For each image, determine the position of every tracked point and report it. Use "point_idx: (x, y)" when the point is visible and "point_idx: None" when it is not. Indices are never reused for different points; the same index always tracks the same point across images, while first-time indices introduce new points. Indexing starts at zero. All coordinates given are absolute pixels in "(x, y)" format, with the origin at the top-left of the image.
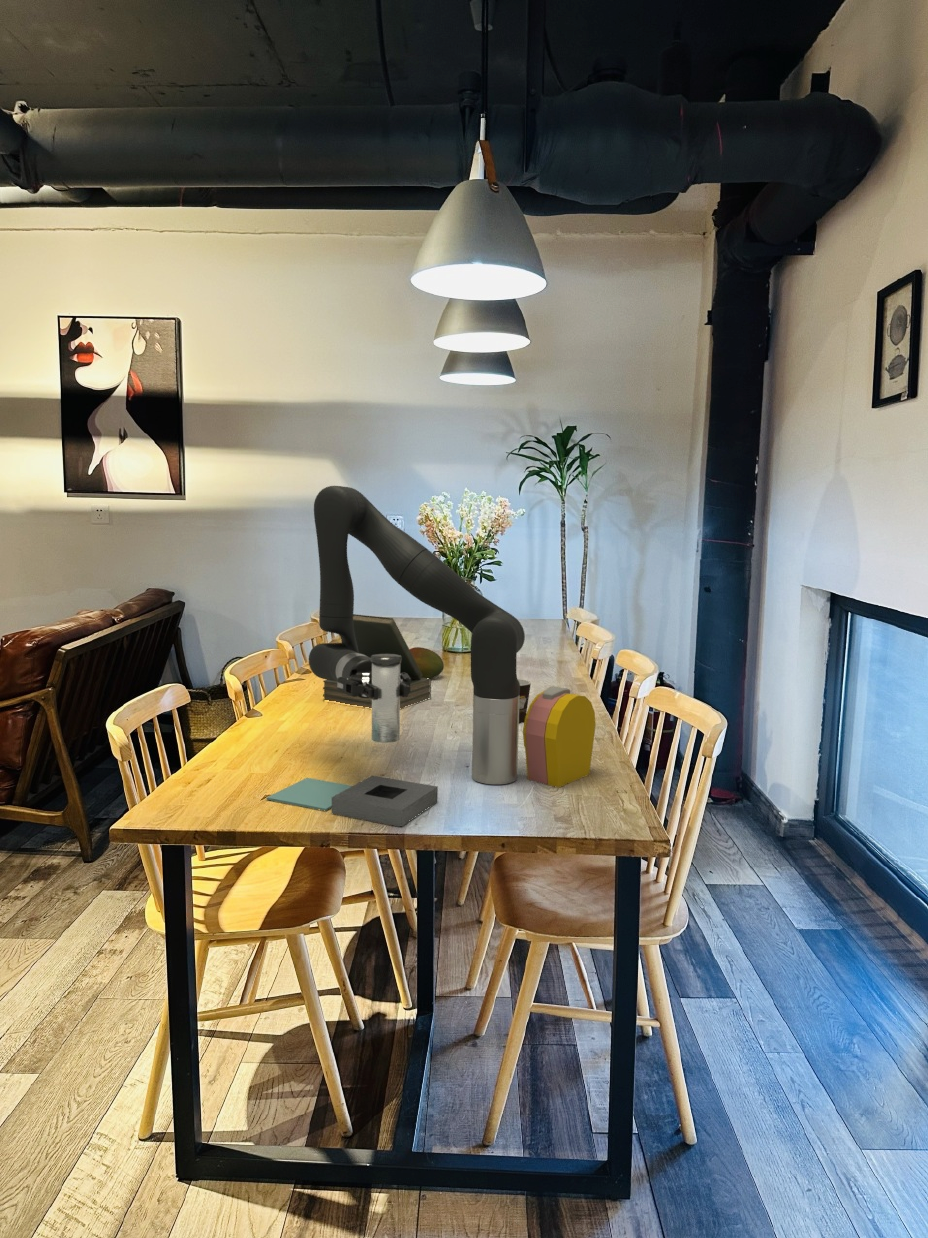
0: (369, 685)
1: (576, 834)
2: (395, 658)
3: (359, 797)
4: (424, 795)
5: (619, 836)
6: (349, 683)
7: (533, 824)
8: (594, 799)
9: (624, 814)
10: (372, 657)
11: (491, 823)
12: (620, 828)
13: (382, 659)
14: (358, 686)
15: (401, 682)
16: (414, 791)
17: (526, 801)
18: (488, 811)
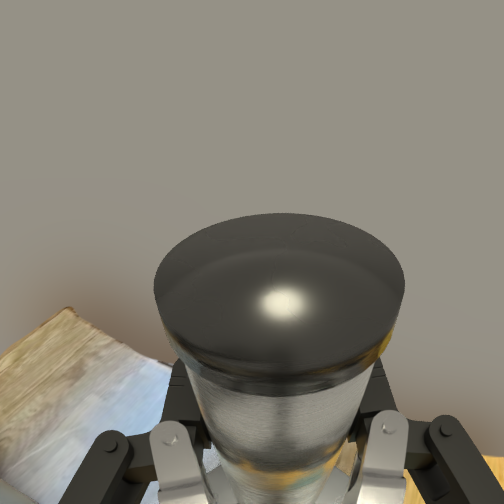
0: (372, 383)
1: (100, 339)
2: (243, 218)
3: (337, 497)
4: (210, 471)
5: (77, 322)
6: (467, 444)
7: (112, 376)
8: (6, 393)
9: (26, 352)
10: (389, 256)
11: (151, 400)
12: (59, 333)
13: (327, 220)
14: (421, 423)
15: (188, 391)
16: (218, 496)
17: (58, 435)
18: (125, 436)
